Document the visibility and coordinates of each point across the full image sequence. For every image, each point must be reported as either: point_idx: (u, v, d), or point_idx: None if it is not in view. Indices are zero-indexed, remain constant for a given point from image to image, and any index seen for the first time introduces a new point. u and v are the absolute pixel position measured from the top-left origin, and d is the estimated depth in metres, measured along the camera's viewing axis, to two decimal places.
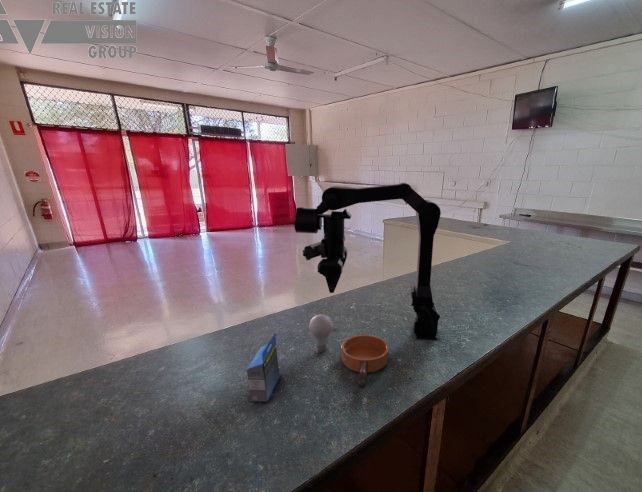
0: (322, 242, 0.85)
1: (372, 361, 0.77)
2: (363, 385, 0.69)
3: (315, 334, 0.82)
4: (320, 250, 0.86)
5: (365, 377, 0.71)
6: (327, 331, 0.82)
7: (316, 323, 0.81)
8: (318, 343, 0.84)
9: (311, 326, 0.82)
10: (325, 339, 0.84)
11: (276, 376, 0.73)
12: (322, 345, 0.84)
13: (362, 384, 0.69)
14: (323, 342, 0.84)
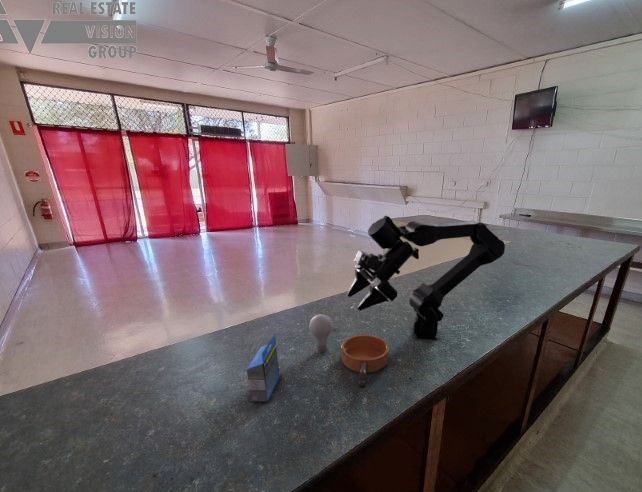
0: (384, 261, 0.81)
1: (372, 361, 0.77)
2: (363, 385, 0.69)
3: (315, 334, 0.82)
4: (378, 266, 0.81)
5: (365, 377, 0.71)
6: (327, 331, 0.82)
7: (316, 323, 0.81)
8: (318, 343, 0.84)
9: (311, 326, 0.82)
10: (325, 339, 0.84)
11: (276, 376, 0.73)
12: (322, 345, 0.84)
13: (362, 384, 0.69)
14: (323, 342, 0.84)
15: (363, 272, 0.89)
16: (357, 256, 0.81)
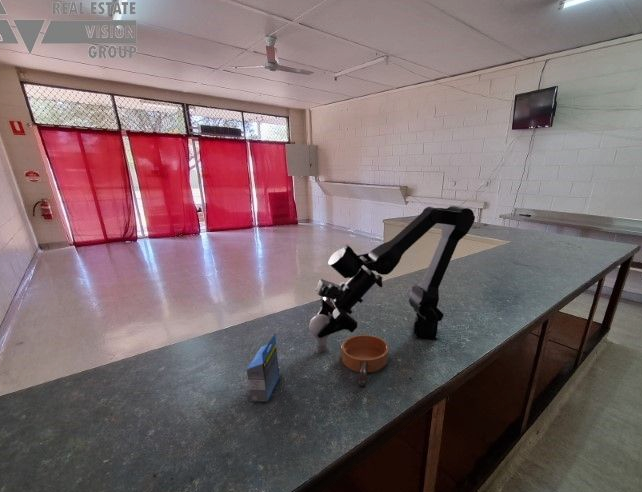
0: (346, 290, 0.80)
1: (372, 361, 0.77)
2: (363, 385, 0.69)
3: (315, 334, 0.82)
4: (339, 296, 0.80)
5: (365, 377, 0.71)
6: None
7: (316, 323, 0.81)
8: (318, 343, 0.84)
9: (311, 326, 0.82)
10: (325, 339, 0.84)
11: (276, 376, 0.73)
12: (322, 345, 0.84)
13: (362, 384, 0.69)
14: (323, 342, 0.84)
15: None
16: (318, 285, 0.80)
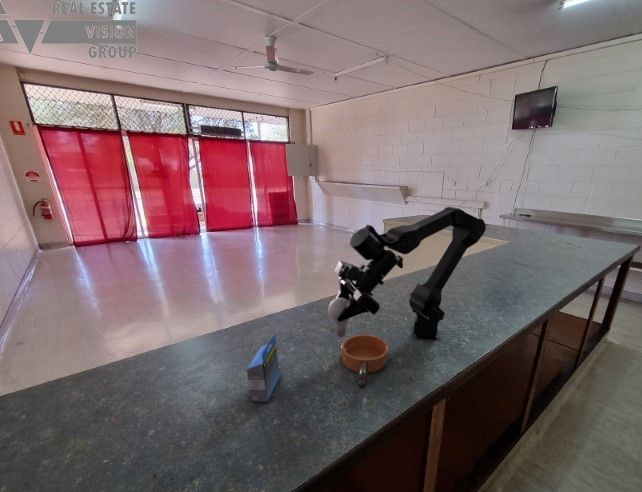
0: (366, 271, 0.77)
1: (372, 361, 0.77)
2: (363, 385, 0.69)
3: (334, 318, 0.79)
4: (360, 277, 0.76)
5: (365, 377, 0.71)
6: None
7: (335, 306, 0.78)
8: (338, 327, 0.81)
9: (330, 309, 0.79)
10: (345, 323, 0.81)
11: (276, 376, 0.73)
12: (341, 330, 0.81)
13: (362, 384, 0.69)
14: (342, 326, 0.81)
15: None
16: (338, 267, 0.77)
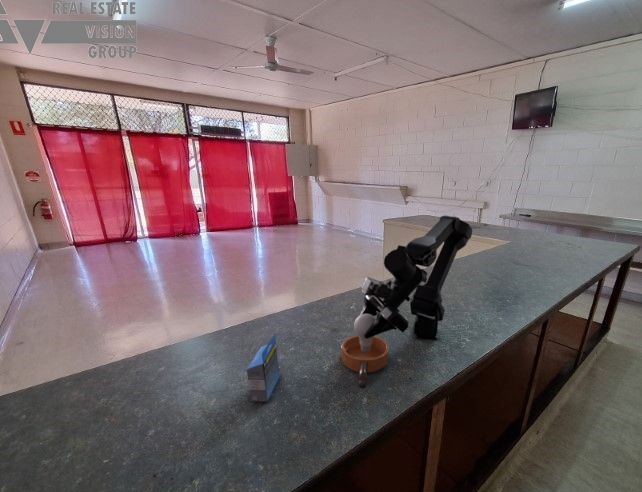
0: (394, 288, 0.76)
1: (372, 361, 0.77)
2: (363, 385, 0.69)
3: (361, 334, 0.78)
4: (387, 294, 0.76)
5: (365, 377, 0.71)
6: None
7: (362, 323, 0.77)
8: (363, 343, 0.80)
9: (357, 326, 0.78)
10: (370, 339, 0.80)
11: (276, 376, 0.73)
12: (367, 346, 0.81)
13: (362, 384, 0.69)
14: (368, 343, 0.80)
15: None
16: (365, 283, 0.76)
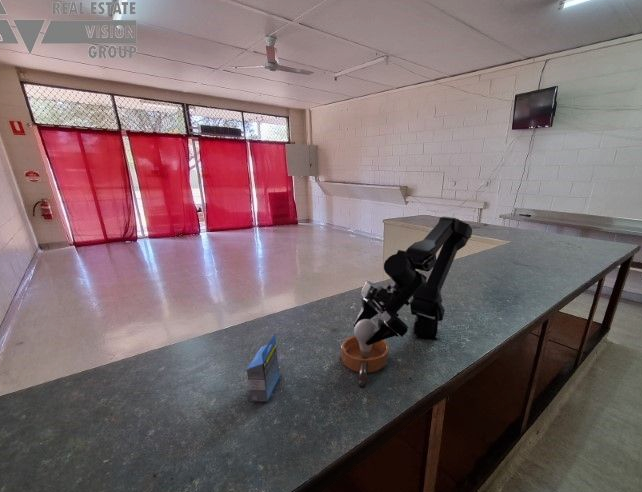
0: (394, 292, 0.77)
1: (372, 361, 0.77)
2: (363, 385, 0.69)
3: (361, 340, 0.79)
4: (387, 298, 0.76)
5: (365, 377, 0.71)
6: None
7: (362, 328, 0.78)
8: (363, 348, 0.81)
9: (357, 331, 0.79)
10: (370, 345, 0.81)
11: (276, 376, 0.73)
12: (367, 351, 0.81)
13: (362, 384, 0.69)
14: (368, 348, 0.81)
15: (370, 301, 0.84)
16: (365, 287, 0.77)
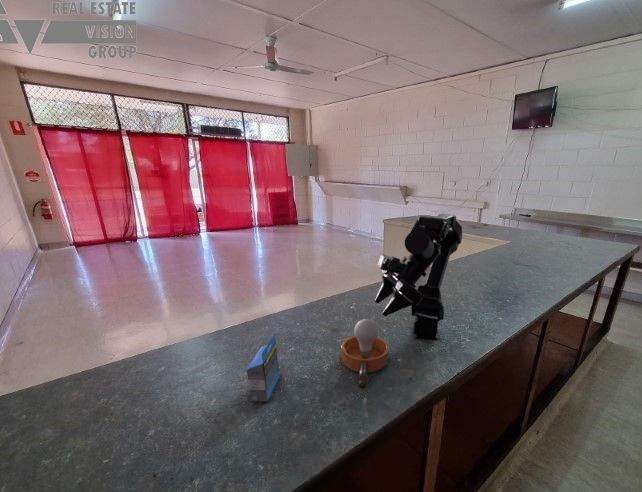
0: (408, 263, 0.78)
1: (372, 361, 0.77)
2: (363, 385, 0.69)
3: (361, 340, 0.79)
4: (401, 269, 0.77)
5: (365, 377, 0.71)
6: (374, 336, 0.79)
7: (362, 328, 0.78)
8: (363, 348, 0.81)
9: (357, 331, 0.79)
10: (370, 345, 0.81)
11: (276, 376, 0.73)
12: (367, 351, 0.81)
13: (362, 384, 0.69)
14: (368, 348, 0.81)
15: (390, 277, 0.86)
16: (380, 260, 0.79)
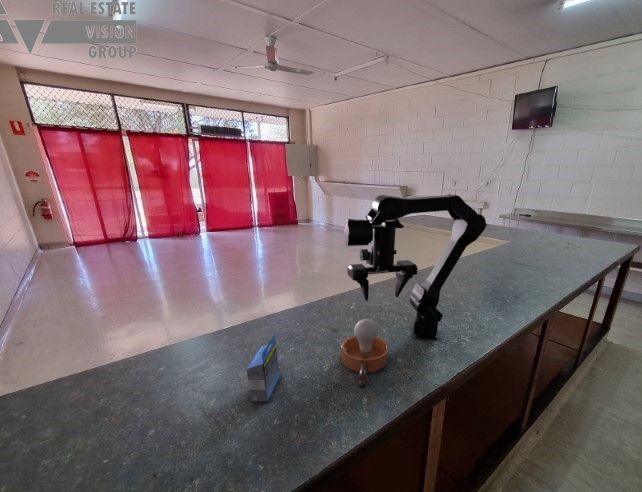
0: (371, 249, 0.86)
1: (372, 361, 0.77)
2: (363, 385, 0.69)
3: (361, 340, 0.79)
4: None
5: (365, 377, 0.71)
6: (374, 336, 0.79)
7: (362, 328, 0.78)
8: (363, 348, 0.81)
9: (357, 331, 0.79)
10: (370, 345, 0.81)
11: (276, 376, 0.73)
12: (367, 351, 0.81)
13: (362, 384, 0.69)
14: (368, 348, 0.81)
15: None
16: None
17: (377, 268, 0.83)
